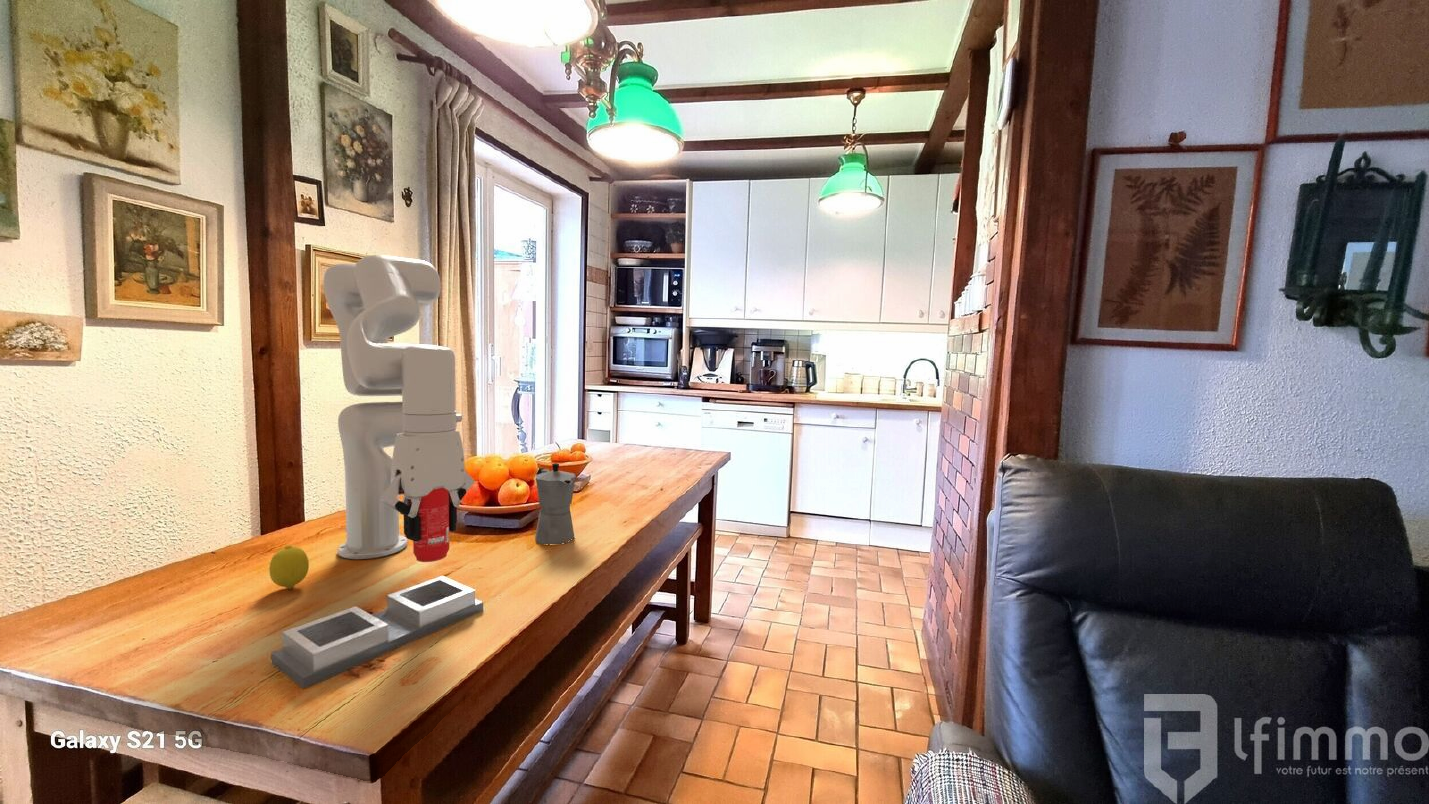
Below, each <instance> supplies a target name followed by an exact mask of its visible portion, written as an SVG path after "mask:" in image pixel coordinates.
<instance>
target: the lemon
mask: <svg viewBox="0 0 1429 804" xmlns="http://www.w3.org/2000/svg"><path fill="white" fill-rule="evenodd" d="M307 555H308V554H307V553H306V551H305V550H303V549H302V548H301V547H299V546H292V545H291V544H287V545H286V546H285V547H283V548H281V549H279V550H277V551H276V552H275V554H273V556H272V558H271V560H270V562H269V570H268V571H269V577H270V580H271V581H272V582H273V583H274V584H276V585H277V586H279V587H284V588H286V589H288V590H291V589H293V588H294V587H295V586H296V585H297V584H300V583H301V582H303V580H304V579H305V578H306V577H307V575H308V571H309V568H310V567H309V566H310V562H309V558H308V556H307Z"/></svg>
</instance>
